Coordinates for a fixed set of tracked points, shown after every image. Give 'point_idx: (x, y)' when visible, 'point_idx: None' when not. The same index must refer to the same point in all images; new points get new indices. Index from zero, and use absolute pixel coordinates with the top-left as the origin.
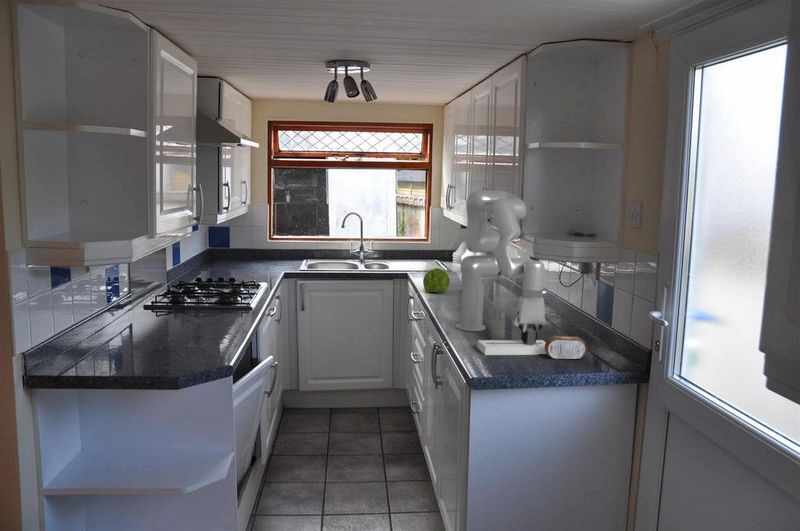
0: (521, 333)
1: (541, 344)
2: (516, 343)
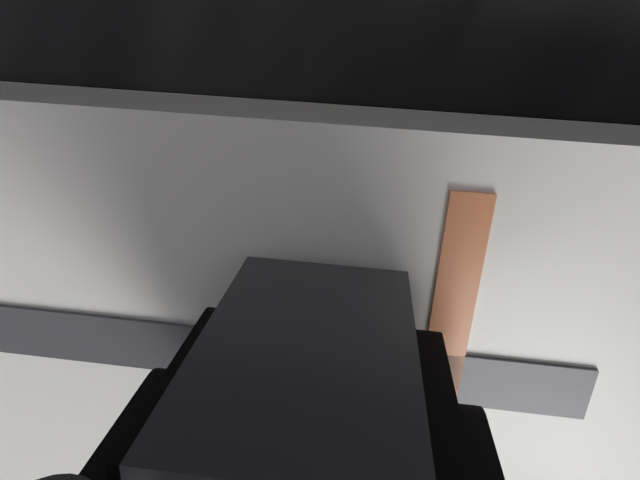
0: (99, 450)
1: (522, 445)
2: (96, 354)
